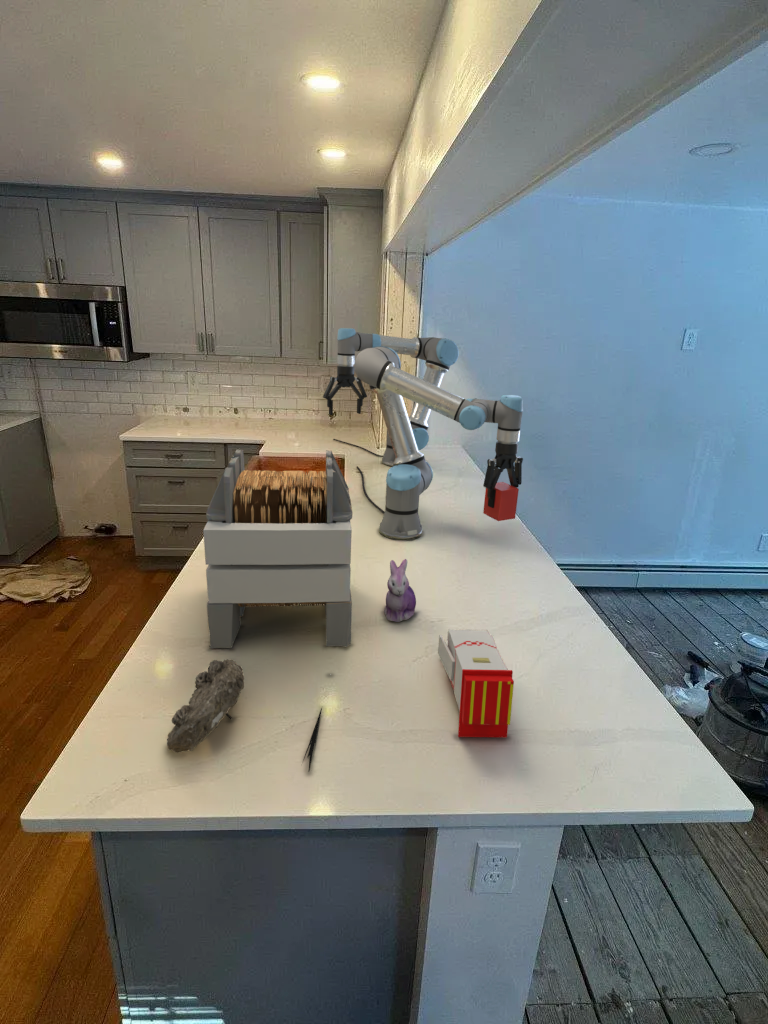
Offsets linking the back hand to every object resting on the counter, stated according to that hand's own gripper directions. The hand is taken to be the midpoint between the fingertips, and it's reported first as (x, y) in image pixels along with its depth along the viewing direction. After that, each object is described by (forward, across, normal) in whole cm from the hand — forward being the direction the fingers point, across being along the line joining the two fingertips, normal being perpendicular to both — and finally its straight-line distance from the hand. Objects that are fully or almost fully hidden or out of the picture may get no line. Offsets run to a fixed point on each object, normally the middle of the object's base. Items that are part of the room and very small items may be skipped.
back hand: (344, 414), depth 254 cm
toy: (+29, +37, +155) cm, 162 cm away
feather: (+29, +69, +150) cm, 168 cm away
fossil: (+29, +87, +141) cm, 169 cm away
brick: (+22, -24, +85) cm, 91 cm away
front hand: (+18, -24, +85) cm, 90 cm away
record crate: (+29, +63, +109) cm, 129 cm away
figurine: (+29, +36, +121) cm, 130 cm away
